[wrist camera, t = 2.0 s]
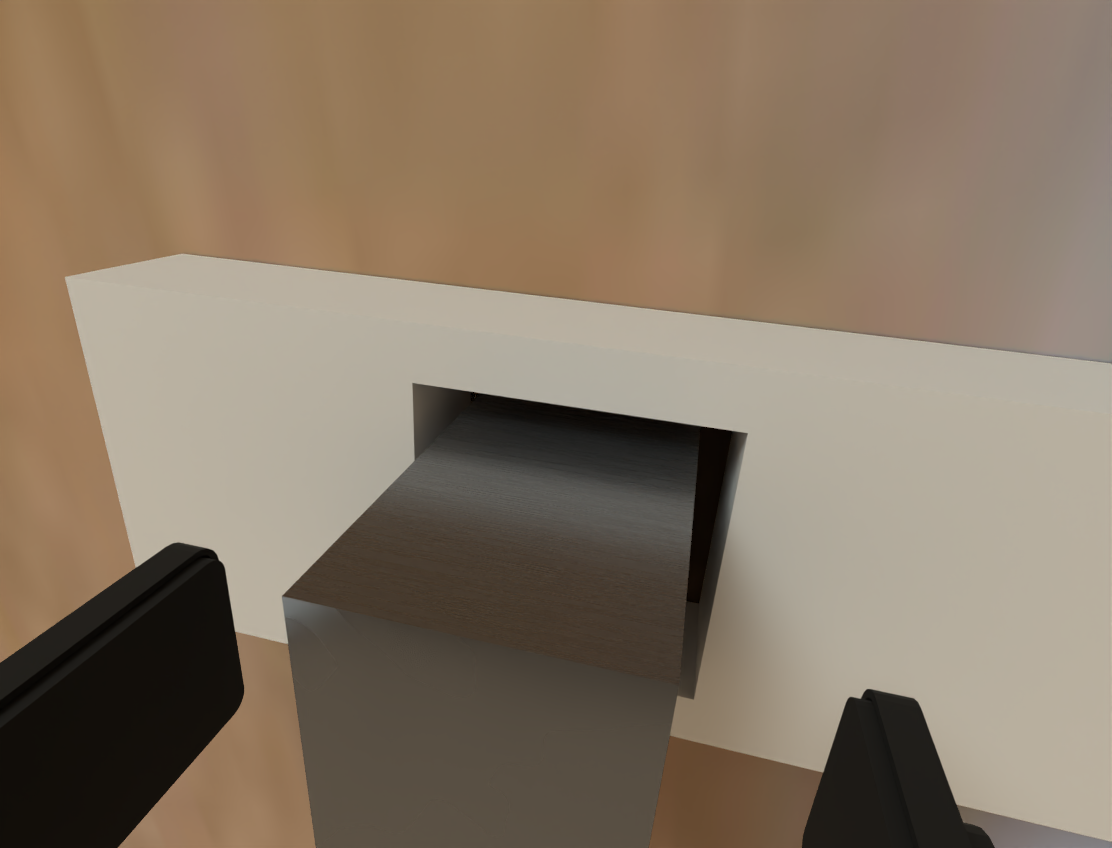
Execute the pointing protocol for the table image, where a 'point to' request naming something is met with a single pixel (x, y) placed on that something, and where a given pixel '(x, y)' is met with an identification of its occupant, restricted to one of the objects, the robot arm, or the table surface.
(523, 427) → the steel block
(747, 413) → the rail
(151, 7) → the table surface
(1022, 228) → the table surface
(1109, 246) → the table surface
